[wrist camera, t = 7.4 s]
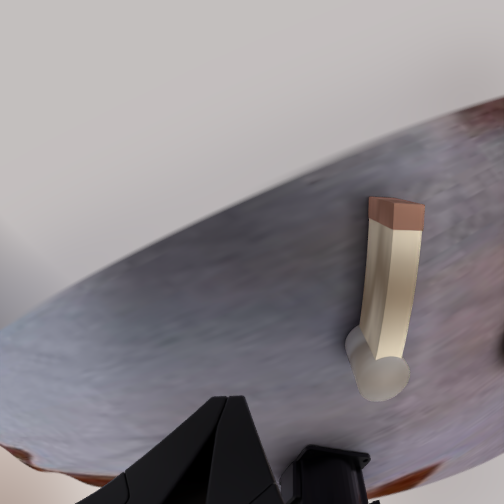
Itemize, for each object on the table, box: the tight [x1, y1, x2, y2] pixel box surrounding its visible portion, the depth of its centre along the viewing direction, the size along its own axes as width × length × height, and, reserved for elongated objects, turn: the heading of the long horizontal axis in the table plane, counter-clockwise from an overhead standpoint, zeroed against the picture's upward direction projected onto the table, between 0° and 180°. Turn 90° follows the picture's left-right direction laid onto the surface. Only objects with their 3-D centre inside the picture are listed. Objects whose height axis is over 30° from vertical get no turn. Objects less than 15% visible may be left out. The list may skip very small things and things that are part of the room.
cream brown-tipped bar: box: [345, 197, 425, 402], centre depth 16 cm, size 11×3×4 cm, turn 1°
